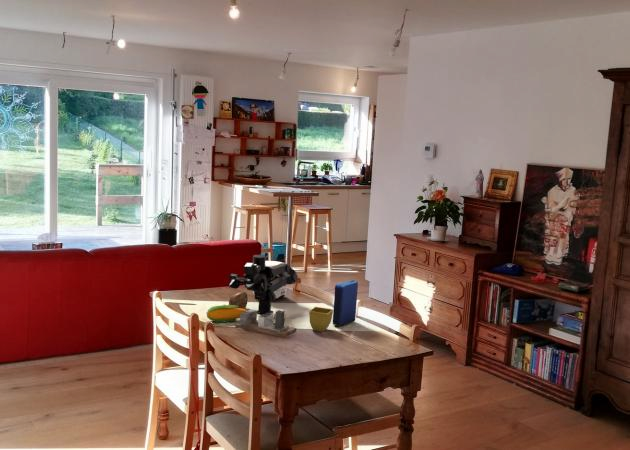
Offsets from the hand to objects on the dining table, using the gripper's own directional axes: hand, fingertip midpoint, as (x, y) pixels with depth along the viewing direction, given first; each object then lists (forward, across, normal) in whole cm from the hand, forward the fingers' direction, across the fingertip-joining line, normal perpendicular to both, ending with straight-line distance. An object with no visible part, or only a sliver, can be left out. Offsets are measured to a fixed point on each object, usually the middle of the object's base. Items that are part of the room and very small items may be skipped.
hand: (238, 287), depth 304 cm
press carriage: (-1, +16, +17) cm, 24 cm away
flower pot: (-15, +33, +20) cm, 41 cm away
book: (-29, +38, +22) cm, 53 cm away
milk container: (-50, -13, +21) cm, 56 cm away
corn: (-2, -8, +17) cm, 19 cm away
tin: (-19, -13, +18) cm, 30 cm away
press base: (-2, +12, +18) cm, 22 cm away
